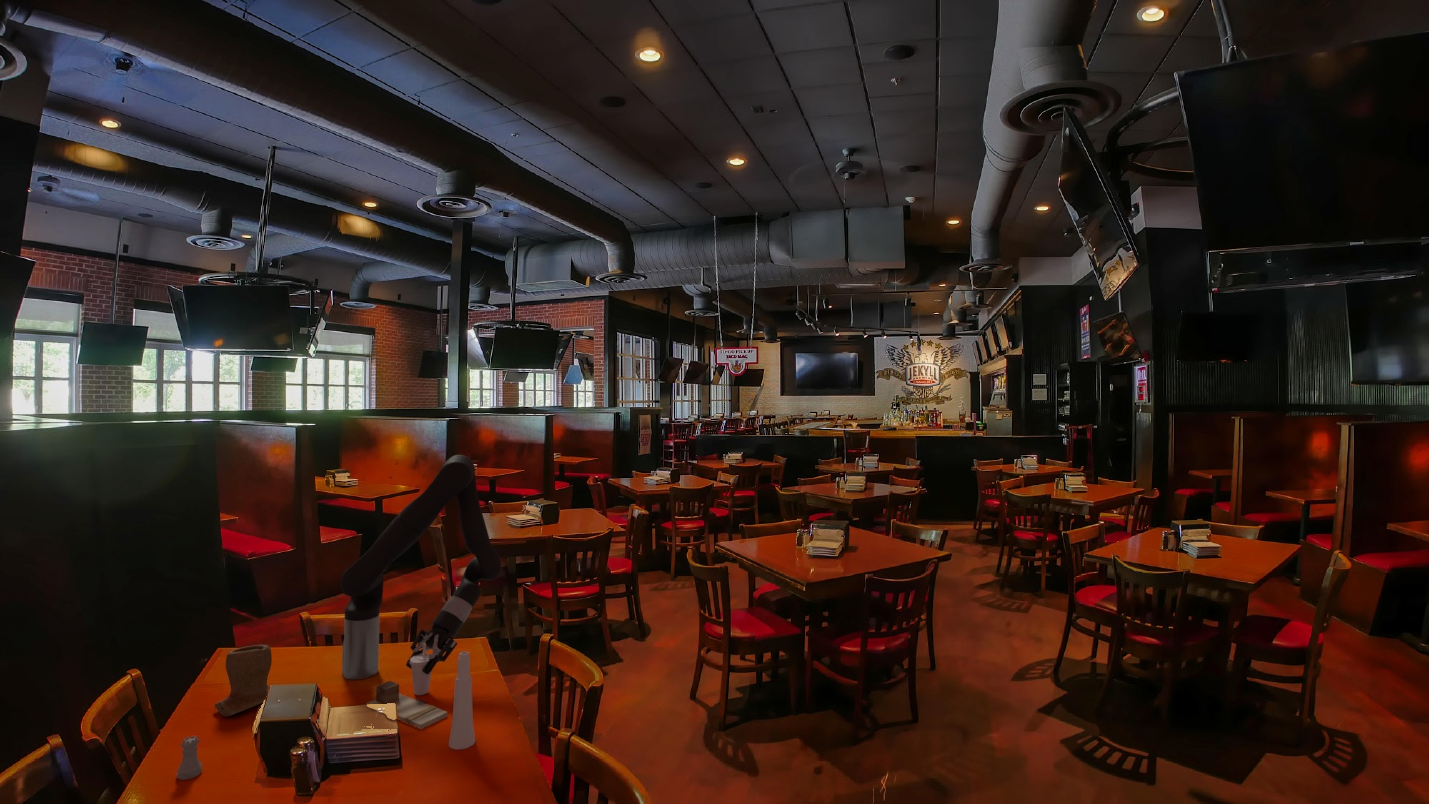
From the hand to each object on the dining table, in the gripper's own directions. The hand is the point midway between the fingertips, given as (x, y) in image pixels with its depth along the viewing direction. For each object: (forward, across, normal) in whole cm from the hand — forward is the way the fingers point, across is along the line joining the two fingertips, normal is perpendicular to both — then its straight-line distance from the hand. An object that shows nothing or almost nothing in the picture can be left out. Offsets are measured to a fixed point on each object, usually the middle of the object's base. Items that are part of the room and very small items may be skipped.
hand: (416, 669), depth 186 cm
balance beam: (+10, +6, 0) cm, 12 cm away
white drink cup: (+4, 0, +6) cm, 7 cm away
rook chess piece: (+41, -8, -31) cm, 52 cm away
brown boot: (+25, -33, -14) cm, 43 cm away
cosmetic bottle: (+13, +31, -2) cm, 34 cm away
